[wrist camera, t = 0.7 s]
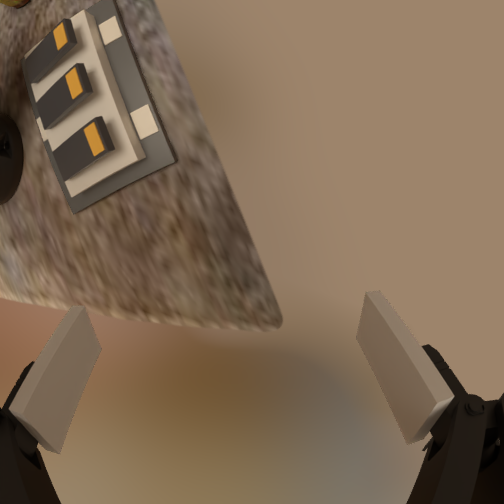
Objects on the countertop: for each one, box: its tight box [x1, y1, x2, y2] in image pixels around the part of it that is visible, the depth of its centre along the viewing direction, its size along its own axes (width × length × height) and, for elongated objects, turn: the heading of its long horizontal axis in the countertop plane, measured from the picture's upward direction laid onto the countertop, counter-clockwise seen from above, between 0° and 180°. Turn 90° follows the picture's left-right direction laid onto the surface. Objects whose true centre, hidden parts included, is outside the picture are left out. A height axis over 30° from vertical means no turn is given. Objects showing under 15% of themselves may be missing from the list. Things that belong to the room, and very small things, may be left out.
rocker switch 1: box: [25, 19, 77, 84], centre depth 20 cm, size 4×8×1 cm, turn 110°
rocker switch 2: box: [36, 63, 93, 130], centre depth 23 cm, size 4×8×1 cm, turn 110°
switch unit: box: [21, 0, 178, 215], centre depth 26 cm, size 26×16×5 cm, turn 20°
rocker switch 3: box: [52, 116, 115, 182], centre depth 26 cm, size 4×8×1 cm, turn 110°
